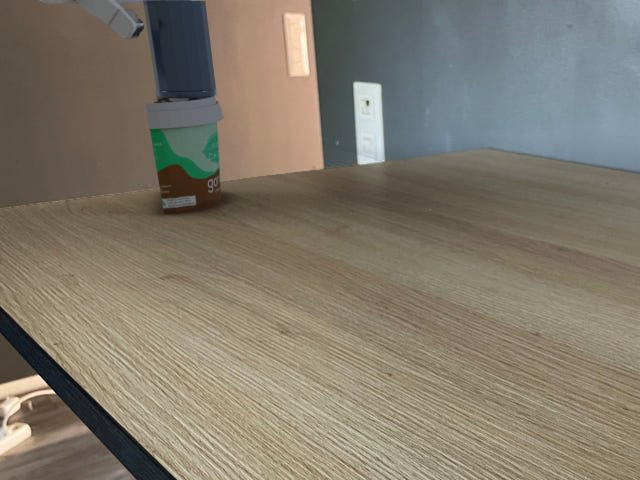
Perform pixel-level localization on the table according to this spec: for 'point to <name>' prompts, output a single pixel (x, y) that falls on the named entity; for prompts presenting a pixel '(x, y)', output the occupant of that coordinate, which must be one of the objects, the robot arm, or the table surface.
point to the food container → (186, 152)
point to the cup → (180, 48)
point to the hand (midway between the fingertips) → (170, 32)
